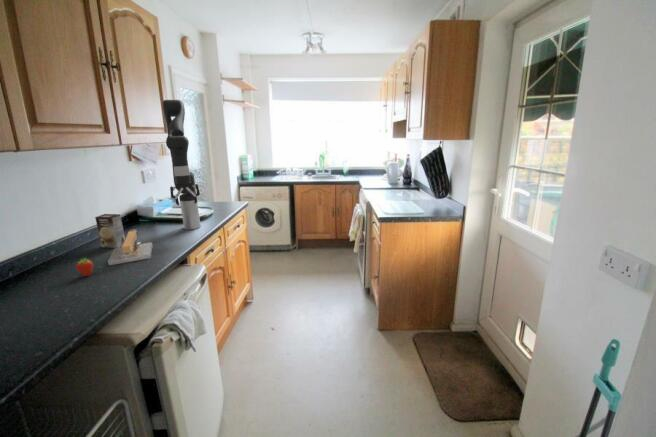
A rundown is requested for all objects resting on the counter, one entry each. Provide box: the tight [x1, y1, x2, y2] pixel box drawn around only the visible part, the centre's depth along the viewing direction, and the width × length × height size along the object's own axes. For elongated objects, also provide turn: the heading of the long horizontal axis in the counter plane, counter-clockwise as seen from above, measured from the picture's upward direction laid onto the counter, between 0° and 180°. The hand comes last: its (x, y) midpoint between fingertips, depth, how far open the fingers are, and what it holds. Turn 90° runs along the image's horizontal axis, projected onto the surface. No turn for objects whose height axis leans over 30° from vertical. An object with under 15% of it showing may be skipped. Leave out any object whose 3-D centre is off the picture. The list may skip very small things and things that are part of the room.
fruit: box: [76, 257, 94, 277], centre depth 124 cm, size 5×5×8 cm
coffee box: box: [94, 213, 126, 248], centre depth 157 cm, size 9×6×16 cm
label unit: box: [107, 242, 154, 266], centre depth 145 cm, size 18×16×2 cm
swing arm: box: [121, 228, 139, 253], centre depth 146 cm, size 28×4×3 cm, turn 26°
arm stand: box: [134, 237, 142, 245], centre depth 158 cm, size 5×5×4 cm
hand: (187, 204), depth 168 cm, fingers open, 8 cm apart
